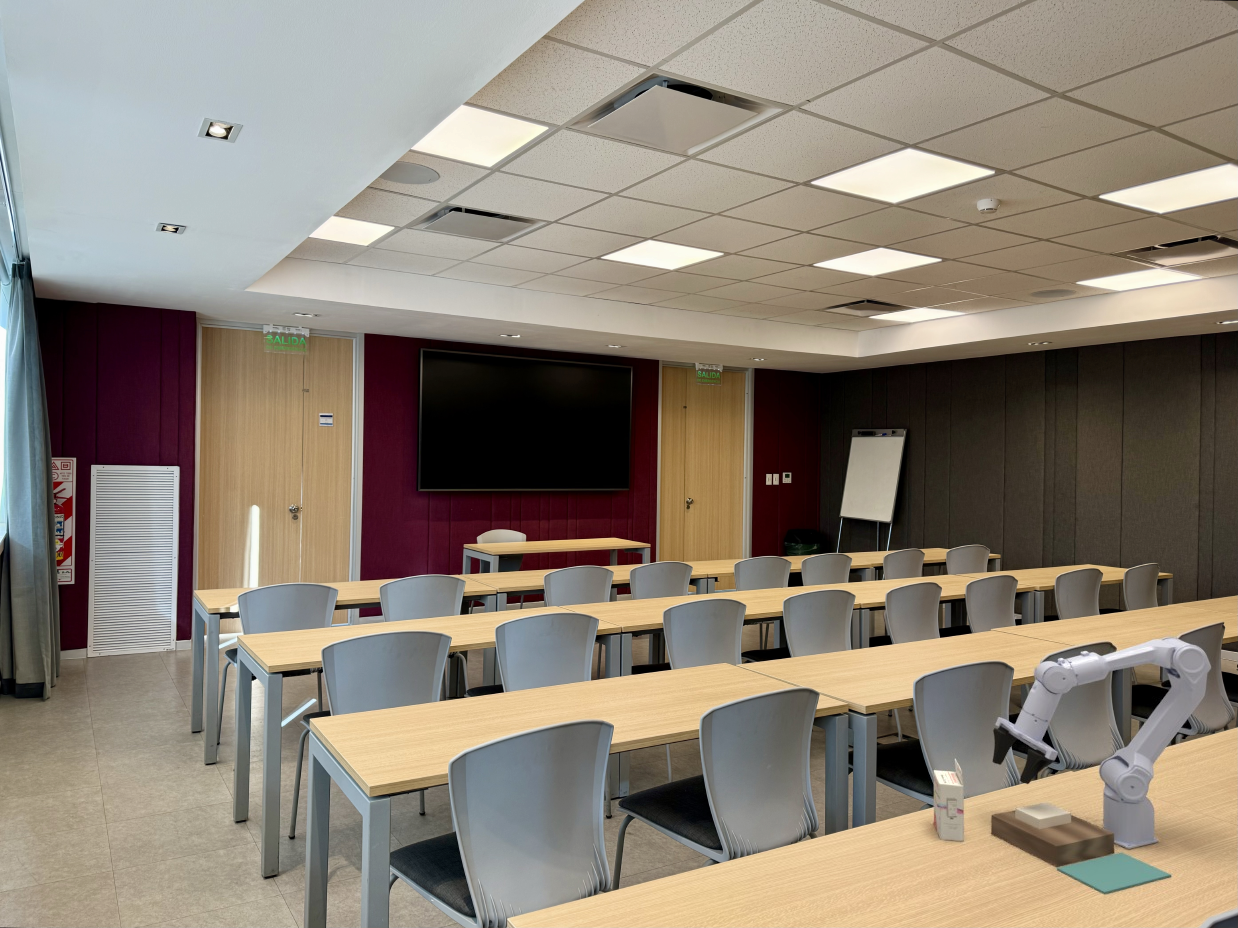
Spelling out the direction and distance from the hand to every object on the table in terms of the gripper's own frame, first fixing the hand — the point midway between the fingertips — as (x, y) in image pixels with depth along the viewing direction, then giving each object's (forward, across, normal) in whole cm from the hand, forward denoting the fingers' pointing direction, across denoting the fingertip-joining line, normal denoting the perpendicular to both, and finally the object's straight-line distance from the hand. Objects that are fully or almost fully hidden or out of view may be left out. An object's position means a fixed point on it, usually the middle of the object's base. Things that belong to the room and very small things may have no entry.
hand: (1009, 772), depth 179 cm
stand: (+9, +10, +6) cm, 15 cm away
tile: (+5, +7, +5) cm, 10 cm away
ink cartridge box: (+17, -1, -8) cm, 19 cm away
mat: (+6, +24, +6) cm, 25 cm away
